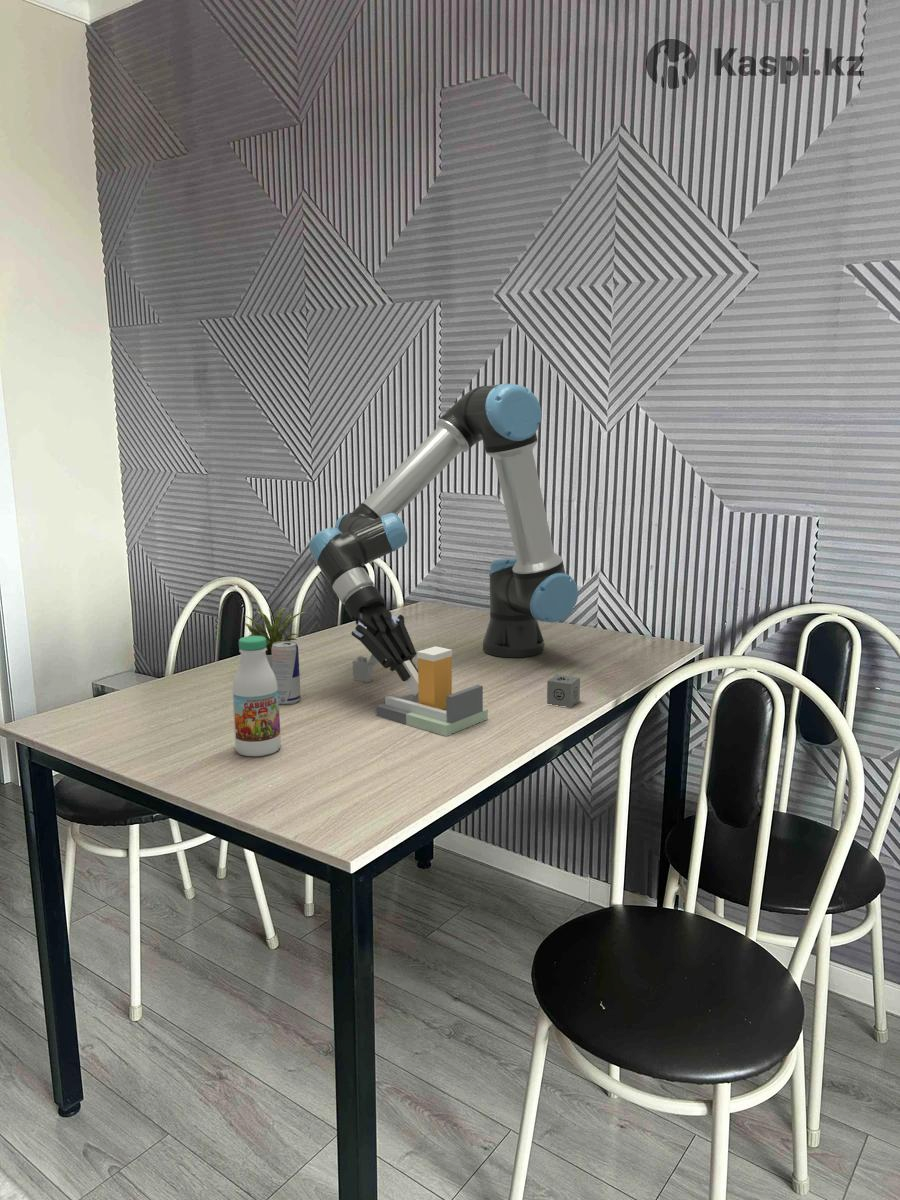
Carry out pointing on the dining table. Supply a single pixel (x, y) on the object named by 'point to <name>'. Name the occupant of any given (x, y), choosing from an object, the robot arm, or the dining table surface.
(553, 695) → the dice cube
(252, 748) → the milk bottle
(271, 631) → the house plant
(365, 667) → the lighter
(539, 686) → the dining table surface
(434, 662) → the block
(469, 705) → the grey rail tray
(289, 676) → the energy drink
